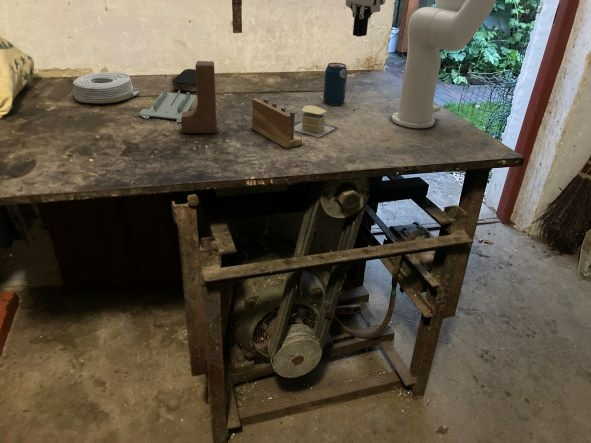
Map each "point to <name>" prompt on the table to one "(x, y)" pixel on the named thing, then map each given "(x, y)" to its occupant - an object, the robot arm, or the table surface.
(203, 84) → the wooden block
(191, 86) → the black sponge
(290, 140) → the peg rack
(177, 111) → the metal bracket
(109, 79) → the cable
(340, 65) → the soda can
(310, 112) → the stacked layers on plate
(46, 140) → the table surface
